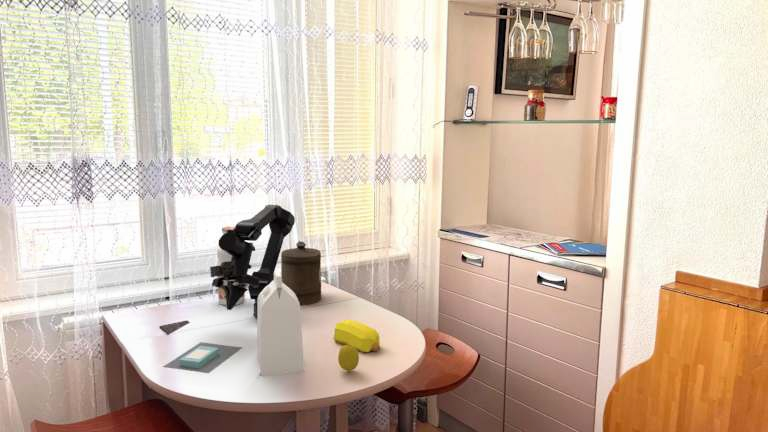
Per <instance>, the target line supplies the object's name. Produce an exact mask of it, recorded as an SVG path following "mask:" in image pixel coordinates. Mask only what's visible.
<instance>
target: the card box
mask: <svg viewBox="0 0 768 432" xmlns="http://www.w3.org/2000/svg"><path fill="white" fill-rule="evenodd" d="M218 354H219V348H214V347H207V346H199V347H198V348H196V349H195V350H193V351H192V352H190V353H188V354H187V355H185V356H184V357H182V358H181V359H179V361H180V366H186V367H193V368H200V367H202V366H203V365H204V364H206V363H207V362H209V361H210V360H211V359H213V358H214V357H216V356H217V355H218Z"/></svg>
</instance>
